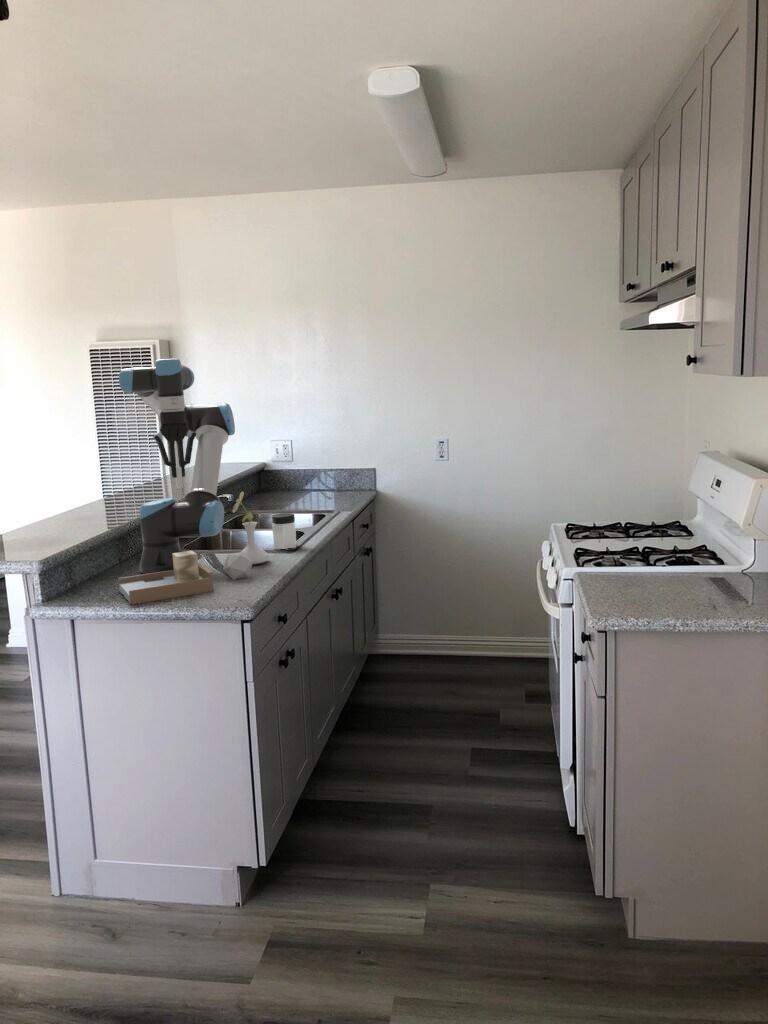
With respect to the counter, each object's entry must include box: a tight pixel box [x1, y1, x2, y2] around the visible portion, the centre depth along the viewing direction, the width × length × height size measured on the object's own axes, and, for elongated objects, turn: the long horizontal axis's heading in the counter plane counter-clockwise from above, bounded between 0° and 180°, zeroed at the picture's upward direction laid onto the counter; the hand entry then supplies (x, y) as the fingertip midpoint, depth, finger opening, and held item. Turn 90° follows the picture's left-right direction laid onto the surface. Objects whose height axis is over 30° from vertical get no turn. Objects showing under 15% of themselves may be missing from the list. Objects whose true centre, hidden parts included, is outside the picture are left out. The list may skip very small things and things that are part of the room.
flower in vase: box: [231, 491, 270, 566], centre depth 274 cm, size 13×11×25 cm
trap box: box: [118, 562, 214, 605], centre depth 245 cm, size 24×18×6 cm
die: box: [222, 551, 253, 581], centre depth 257 cm, size 8×9×10 cm
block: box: [172, 550, 199, 582], centre depth 248 cm, size 6×6×8 cm
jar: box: [271, 512, 297, 550], centre depth 299 cm, size 9×8×12 cm
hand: (179, 487), depth 252 cm, fingers closed
